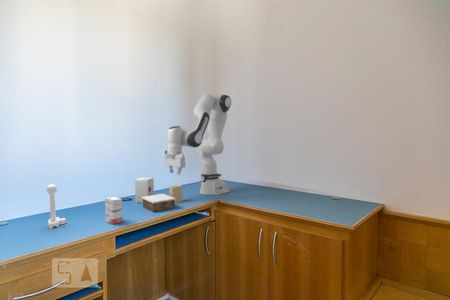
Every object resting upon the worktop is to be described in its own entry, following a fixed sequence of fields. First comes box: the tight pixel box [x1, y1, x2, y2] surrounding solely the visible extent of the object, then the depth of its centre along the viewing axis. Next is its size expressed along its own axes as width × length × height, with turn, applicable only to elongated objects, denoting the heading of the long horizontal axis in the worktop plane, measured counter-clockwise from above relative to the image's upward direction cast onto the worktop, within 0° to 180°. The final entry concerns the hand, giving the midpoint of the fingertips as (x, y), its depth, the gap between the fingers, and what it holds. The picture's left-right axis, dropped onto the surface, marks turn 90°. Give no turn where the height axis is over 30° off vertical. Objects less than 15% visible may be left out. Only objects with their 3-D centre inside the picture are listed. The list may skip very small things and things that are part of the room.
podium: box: [142, 193, 176, 213], centre depth 172 cm, size 14×16×6 cm
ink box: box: [104, 196, 123, 225], centre depth 146 cm, size 9×5×12 cm, turn 48°
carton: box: [168, 184, 184, 204], centre depth 186 cm, size 7×4×10 cm, turn 128°
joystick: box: [45, 184, 67, 230], centre depth 142 cm, size 11×8×20 cm
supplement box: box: [134, 177, 155, 204], centre depth 187 cm, size 9×9×15 cm
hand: (175, 173), depth 184 cm, fingers open, 8 cm apart
